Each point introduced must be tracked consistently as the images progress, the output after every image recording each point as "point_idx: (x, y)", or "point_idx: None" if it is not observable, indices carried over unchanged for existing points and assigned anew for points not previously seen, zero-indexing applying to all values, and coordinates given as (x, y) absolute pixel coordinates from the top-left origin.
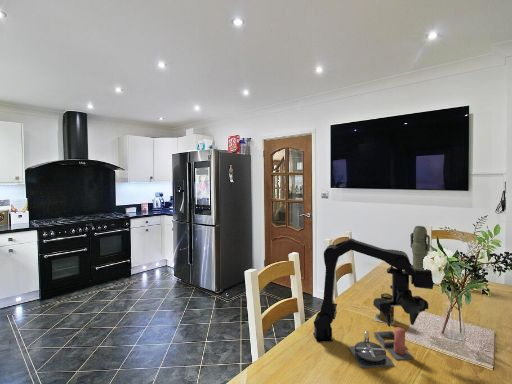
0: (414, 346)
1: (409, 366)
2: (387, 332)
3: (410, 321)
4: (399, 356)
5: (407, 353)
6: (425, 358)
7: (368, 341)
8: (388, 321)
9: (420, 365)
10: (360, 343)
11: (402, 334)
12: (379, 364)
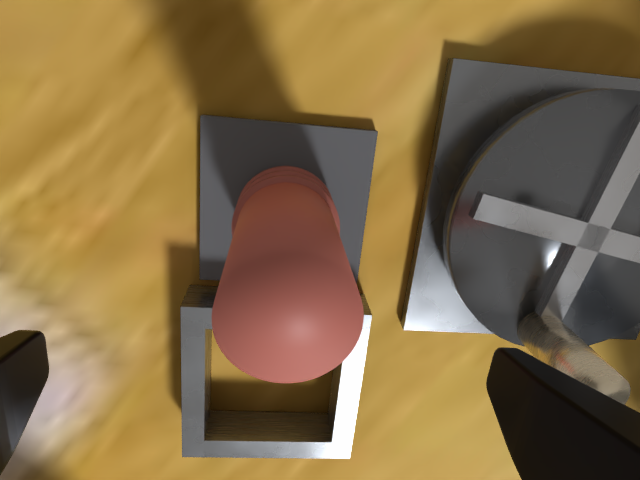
0: (86, 276)
1: (317, 23)
2: (240, 444)
3: (26, 416)
4: (323, 160)
5: (222, 186)
6: (87, 102)
7: (549, 323)
8: (623, 408)
9: (203, 14)
10: (593, 328)
11: (294, 237)
12: (578, 83)
